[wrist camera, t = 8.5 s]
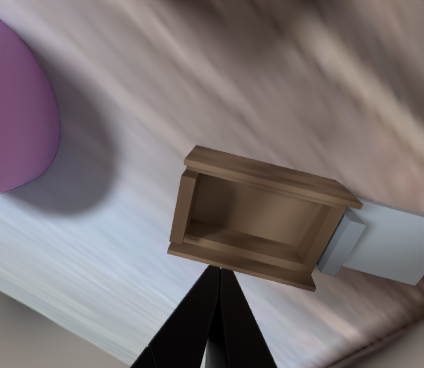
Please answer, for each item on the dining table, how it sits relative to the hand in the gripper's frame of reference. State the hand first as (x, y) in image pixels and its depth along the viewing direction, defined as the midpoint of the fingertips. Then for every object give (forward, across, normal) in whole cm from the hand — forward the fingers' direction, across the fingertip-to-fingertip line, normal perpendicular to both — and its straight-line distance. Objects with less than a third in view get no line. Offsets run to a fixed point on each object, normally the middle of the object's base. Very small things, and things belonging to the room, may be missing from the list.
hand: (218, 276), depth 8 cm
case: (+12, -3, +3) cm, 13 cm away
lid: (+13, -14, +3) cm, 19 cm away
